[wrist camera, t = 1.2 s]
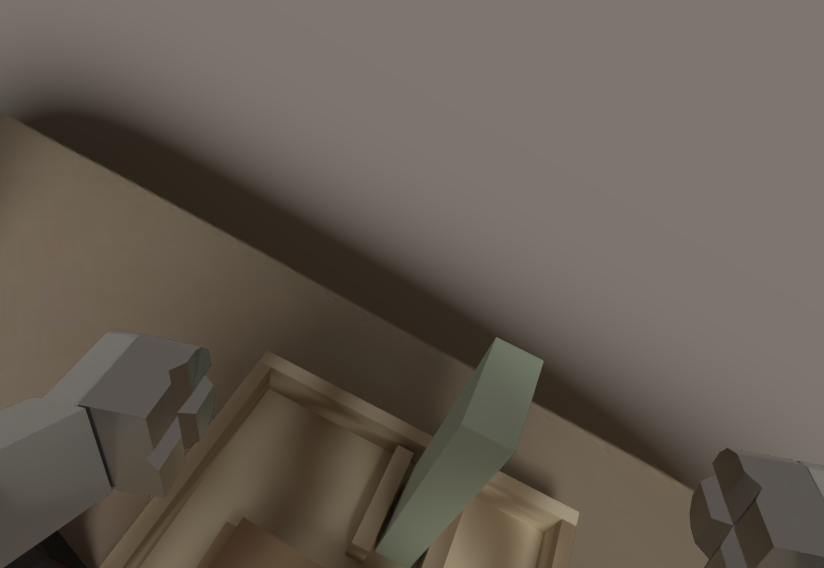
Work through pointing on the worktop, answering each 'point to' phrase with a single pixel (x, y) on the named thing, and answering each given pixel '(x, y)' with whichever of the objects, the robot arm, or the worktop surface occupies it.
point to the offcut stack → (252, 550)
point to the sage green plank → (463, 451)
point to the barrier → (48, 555)
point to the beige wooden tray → (329, 487)
